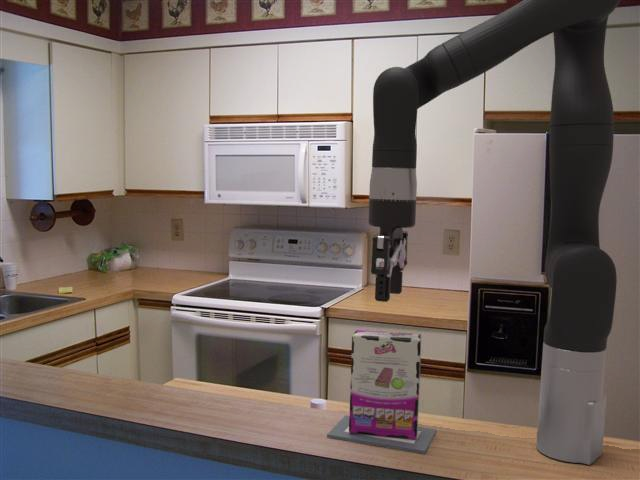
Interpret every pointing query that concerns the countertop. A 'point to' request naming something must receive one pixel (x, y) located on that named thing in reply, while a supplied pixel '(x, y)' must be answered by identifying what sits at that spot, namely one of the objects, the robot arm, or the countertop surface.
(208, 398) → the countertop surface
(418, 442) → the card
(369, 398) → the candy bar box
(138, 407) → the countertop surface
